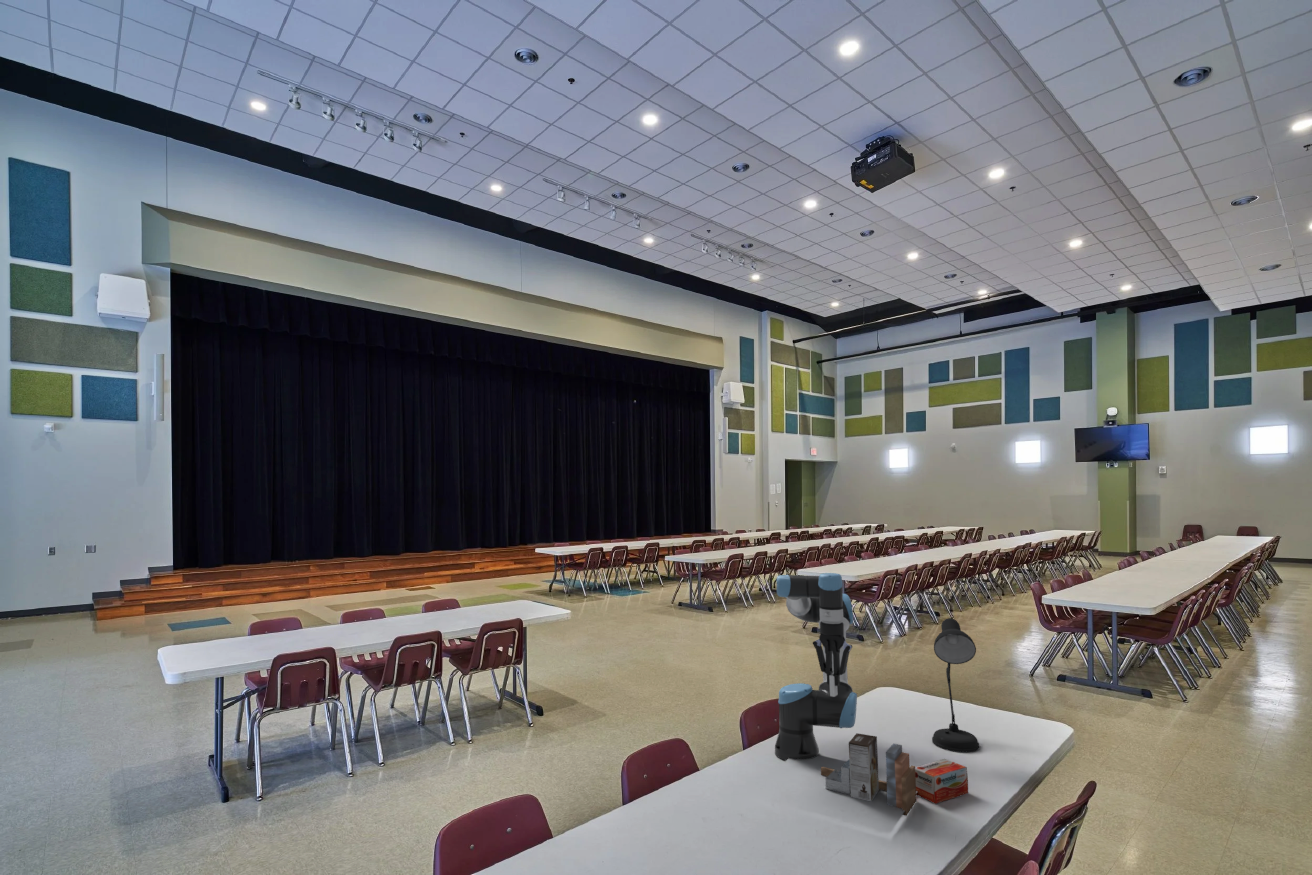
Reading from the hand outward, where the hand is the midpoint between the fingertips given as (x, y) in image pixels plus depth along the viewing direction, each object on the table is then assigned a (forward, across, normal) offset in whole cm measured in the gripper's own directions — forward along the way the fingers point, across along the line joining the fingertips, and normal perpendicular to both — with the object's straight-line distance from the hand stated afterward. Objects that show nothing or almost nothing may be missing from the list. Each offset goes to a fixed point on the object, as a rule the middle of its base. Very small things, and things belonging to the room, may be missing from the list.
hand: (833, 695), depth 216 cm
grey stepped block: (+24, +6, -9) cm, 26 cm away
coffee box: (+25, +13, -9) cm, 29 cm away
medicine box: (+26, +30, +7) cm, 41 cm away
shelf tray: (+26, +11, -8) cm, 29 cm away
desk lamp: (+26, +24, +52) cm, 63 cm away
